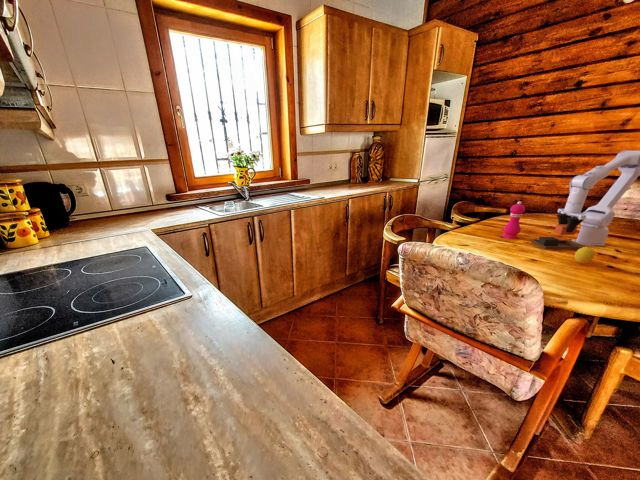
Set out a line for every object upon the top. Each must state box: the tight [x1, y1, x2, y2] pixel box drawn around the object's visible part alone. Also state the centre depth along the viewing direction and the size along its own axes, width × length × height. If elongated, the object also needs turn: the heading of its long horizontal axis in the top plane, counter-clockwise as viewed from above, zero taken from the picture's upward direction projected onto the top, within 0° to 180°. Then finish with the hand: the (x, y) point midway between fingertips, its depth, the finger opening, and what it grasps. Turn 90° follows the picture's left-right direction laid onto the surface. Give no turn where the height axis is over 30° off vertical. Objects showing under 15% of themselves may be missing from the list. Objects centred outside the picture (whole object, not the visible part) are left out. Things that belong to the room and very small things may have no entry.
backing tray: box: [530, 239, 583, 251], centre depth 136 cm, size 15×10×2 cm
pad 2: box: [553, 223, 579, 236], centre depth 133 cm, size 6×4×4 cm
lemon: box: [573, 246, 595, 266], centre depth 115 cm, size 6×6×8 cm
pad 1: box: [537, 236, 560, 246], centre depth 136 cm, size 6×4×4 cm
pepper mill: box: [502, 200, 526, 240], centre depth 147 cm, size 7×7×20 cm
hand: (565, 230), depth 133 cm, fingers closed on pad 2, 4 cm apart
